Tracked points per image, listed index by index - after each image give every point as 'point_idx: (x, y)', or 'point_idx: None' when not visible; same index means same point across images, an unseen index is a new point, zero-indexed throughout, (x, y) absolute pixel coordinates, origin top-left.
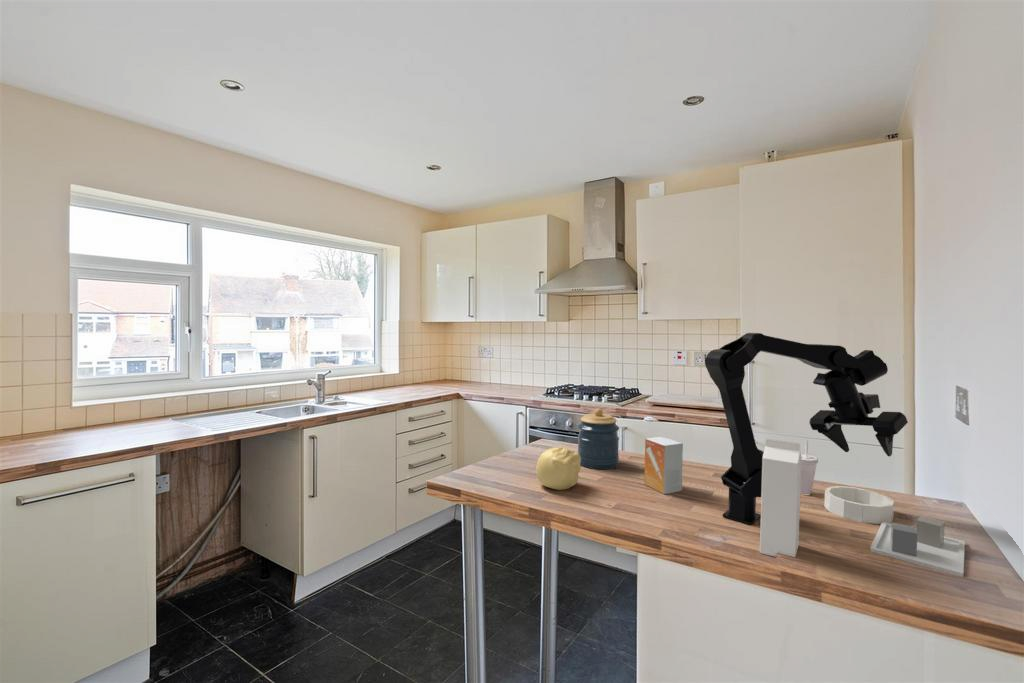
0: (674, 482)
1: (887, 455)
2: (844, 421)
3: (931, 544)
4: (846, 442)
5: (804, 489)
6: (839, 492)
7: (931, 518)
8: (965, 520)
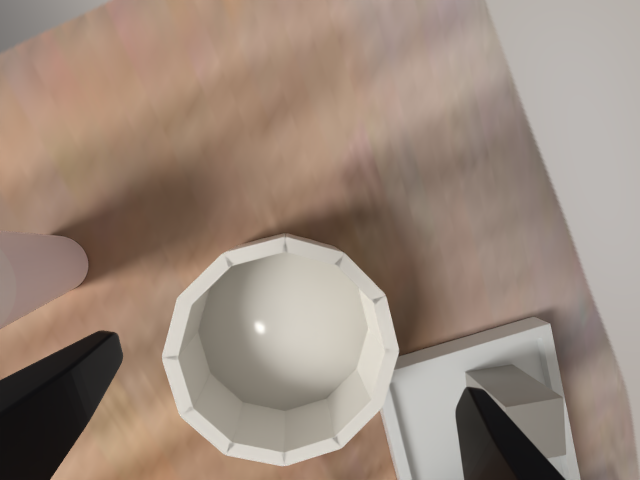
0: None
1: (458, 426)
2: None
3: None
4: (43, 393)
5: (62, 294)
6: (196, 307)
7: (531, 405)
8: (481, 56)
